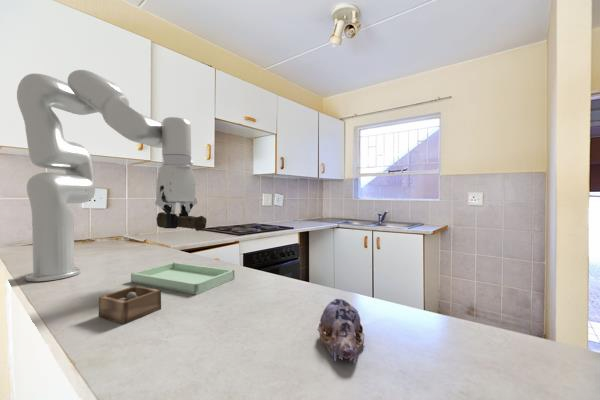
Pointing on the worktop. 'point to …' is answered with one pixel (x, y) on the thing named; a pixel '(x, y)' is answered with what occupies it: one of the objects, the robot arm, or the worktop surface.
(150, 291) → the gravel box
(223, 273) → the tray
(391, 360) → the worktop surface
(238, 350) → the worktop surface
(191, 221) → the dark brown tapered bar
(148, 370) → the worktop surface
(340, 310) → the skull
